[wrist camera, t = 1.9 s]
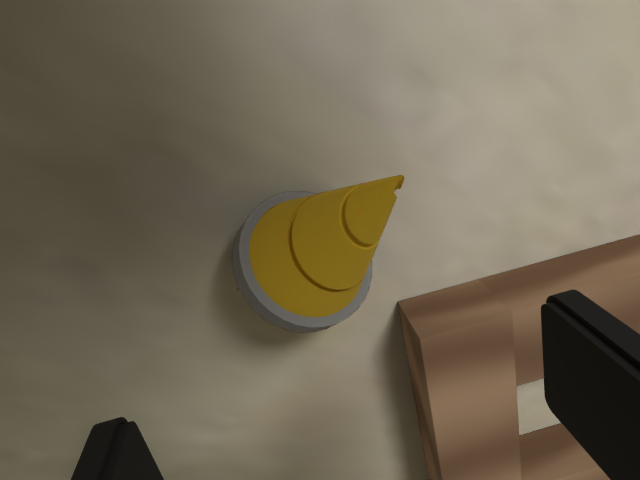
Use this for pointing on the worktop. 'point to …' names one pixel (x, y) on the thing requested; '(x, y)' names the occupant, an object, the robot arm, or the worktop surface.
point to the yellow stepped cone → (312, 253)
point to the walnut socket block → (504, 364)
